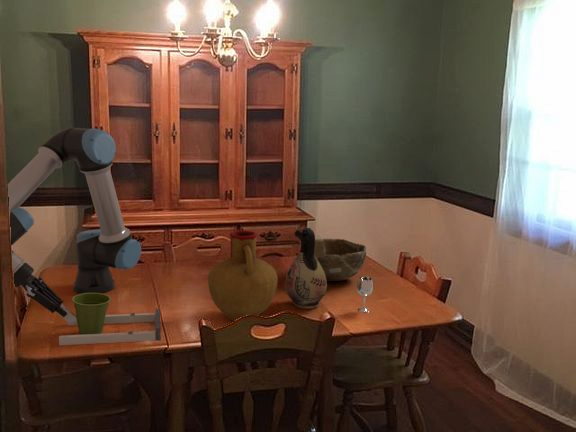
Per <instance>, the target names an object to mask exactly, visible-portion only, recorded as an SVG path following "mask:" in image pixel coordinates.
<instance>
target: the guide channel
mask: <svg viewBox="0 0 576 432" xmlns="http://www.w3.org/2000/svg"><path fill="white" fill-rule="evenodd" d="M150 322H151V323H152V322H153V323H154V325H155V327H154V330H151V331H147V330H146V331H132V330H131V331H130V330H129V331H127V332H111V333H100V334H86V335H82V334H68V335H59V337H58V344H59V346H75V345H76V346H77V345H92V344H93V345H94V344H113V343H129V342H149V341H150V342H151V341H154V342H155V341H161V308H155V312H147V313H146V312H145V313H135V312H131V313H123V314H122V313H121V314H106V316H105V320H104V324H105V325H107V324H111V325H112V324H131V323H132V324H133V323H150ZM66 325H67V326H68V327H69V326H78V323H77V319H76V320H75V321H74V322H73V323H72V324H69V323H68V322H67V321H66Z"/></svg>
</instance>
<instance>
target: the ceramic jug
mask: <svg viewBox="0 0 576 432" xmlns="http://www.w3.org/2000/svg"><path fill="white" fill-rule="evenodd" d="M294 236H295V237H296V238H298V239H299V241H300V250H299V252H298V254H297V255H296V256H295V257H294V259H293V260H292V263H291V264H290V265H289V268H288V270H287V273H286V277H285V281H284V287H285V291H286V292H285V293H286V294H287V296H288V298H289V299H290V300H291V301H292V303H293V305H294V307H296V308H300V309H303V310H305V309H307V310H311V309H314V308H318V307H319V305H320V301H321V300H322V299H323V298H324V296H325V294H326V293H327V289H328V283H327V282H328V281H326V276H325V273H324V271H323V268H322V267H321V265H320V263H319V262H318V260H317V259H316V257H315V256H314V248H315V240H316V235H315V232H314V230H313V229H311V228H310V227H305V228H303V229H302V231H301V230H300V229H296V230H295V232H294Z"/></svg>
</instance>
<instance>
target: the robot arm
mask: <svg viewBox="0 0 576 432" xmlns="http://www.w3.org/2000/svg"><path fill="white" fill-rule="evenodd" d="M37 151H38V153H37V154H36V155H35V156H34V157H33V158H32V159H31V160H30V161H29V162H28V163H27V164H26V165H25V166H24V167H23V168H22V169H21V171H19V172H18V173H17V174H16V176H14V177H13V178H12V179H11V180H10V181H9V183H8V184H7V185H8V197H9V210H10V227H11V245H12V246H13V245H14V244H15V243H16V242H17V241H19V240H20V239H21V238H22V237H23V236H24V235H25V234H26V233H27V232H29V230H30V229H31V227H32V226H34V223H35V220H34V217H33V216H32V214H31V213H30V212H29V211H28V210H26V209H25V208H23V207H20V206H21V205H22V204H23V203H24V202H25V201H26V200H27V199H29V197H30V196H31V195H32V194H33V193H34V192H35V191H36V190H37V189H38V188H39V186H40V185H41V184H43V182H44V181H45V180H46V179H47V178H48V177H49V176H50V175H52V173H53V172H54V171H55V169H61V168H62V167H63V166H64V165H65V164H66V163H68V162H71V161H72V162H76V163H77V167H78V170H79V172H81V173H82V174H84V175H85V178H86V182H87V186H88V188H89V189H88V190H89V193H90V196H91V200H92V204H93V208H94V210H95V214H96V218H97V221H98V225H99V228H97V229H88V230H83V231H81V232H78V233H77V235H76V255H77V256H76V257H77V258H76V259H77V272H76V276H75V281H74V283H73V291H74V292H76V293H78V294H83V293H101V294H104V293H108V292H110V291H112V290H114V289H115V280H114V278H113V275H112V272H111V269H110V268H114V269H117V270H125V271H127V270H130V269H132V268H134V267H135V266H136V264H138V262H139V260H140V258H141V255H142V247H141V243H140V242H139V241H138V240H136V239H133V237H132V233H131V230H130V229H129V228H127V227H125V222H124V218H123V215H122V212H121V211H122V210H121V206H120V203H119V200H118V195H117V192H116V187H115V184H114V180H113V177H112V172H111V167H112V166H113V163H114V162H113V160H114V159H115V156H116V154H115V153H117V146H116V141H115V140H114V138H113V137H112V135H111V134H110V133H108V132H107V131H105V130H103V129H98V128H83V127H75V126H73V127H72V126H71V127H67V128H66V127H65V128H64V129H61V130H59V131H58V132H56V133H54V134H53V135H52V136H51V137H50V138H47V140H46V141H44V143H43V144H42V145H40V147H39V148H38V149H37ZM12 262H13V272H14V284H15V287H14V288H19V286H21V287H22V288H23V289H24V291H25V292H27V293H26V294H25V295H26V296H27V297H28V298H30V299H32V300H33V301H35V302H36V303H38V304H39V305H40V306H42V307H44V308H45V309H46V310H48V311H49V312H51V313H52V314H54V313H57V314H58V315H59V316H60V317H61V318H62V319H63V320H65V321H66V323H67V322H68V323H69V324H72V323H73V322H74V321H75V320H76V319H77V316H76V313H74V312H72V311H71V310H70V309H69V308H68V307H67V306H65V305H64V304H63V303H64V300H63V299H61V297H59V295H58V294H56V292H54V290H52V288H51V287H50V286H48V284H47V283H46V282H45V280H44V279H43V278H42V277H36V276H34V275H33V272H34V271H35V269H34V268H33V267H32V266H31V265H29V264H28V263H27V262H24V259H23V258H22V257H21V256H19V254H17V253H16V252H15V251H14V250H12ZM51 313H50V314H51Z"/></svg>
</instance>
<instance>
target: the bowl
mask: <svg viewBox="0 0 576 432" xmlns="http://www.w3.org/2000/svg"><path fill="white" fill-rule="evenodd" d="M314 256H315V257H316V259H317V260H318V262H319V263H320V265H321V267H322V268H323V271H324V273H325V276H326V281H327V282H338V281H345V280H347V279H350V278H352V277H354V276H355V275H357V274H358V273H359V271H361V269H362V268H363V265H364V263H365V260H366V256H367V248H366V245H364V244H359V243H356V242H352V241H349V240H347V239H345V238H344V239H343V238H342V239H341V238H322V239H321V238H319V239H318V238H317V239H316V238H315V248H314Z"/></svg>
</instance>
